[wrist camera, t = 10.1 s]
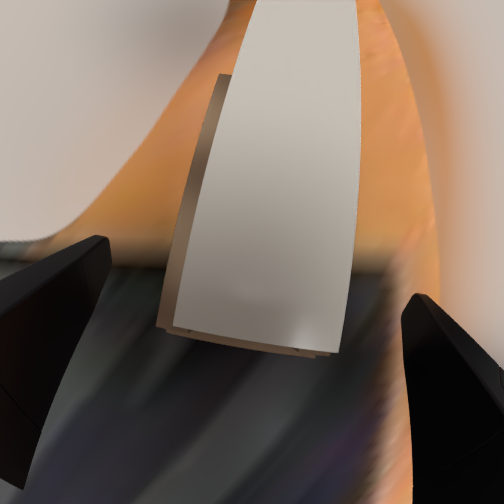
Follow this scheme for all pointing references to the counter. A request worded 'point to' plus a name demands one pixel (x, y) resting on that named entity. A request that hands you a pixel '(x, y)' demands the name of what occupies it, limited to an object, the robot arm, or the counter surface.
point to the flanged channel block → (183, 236)
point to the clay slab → (281, 184)
